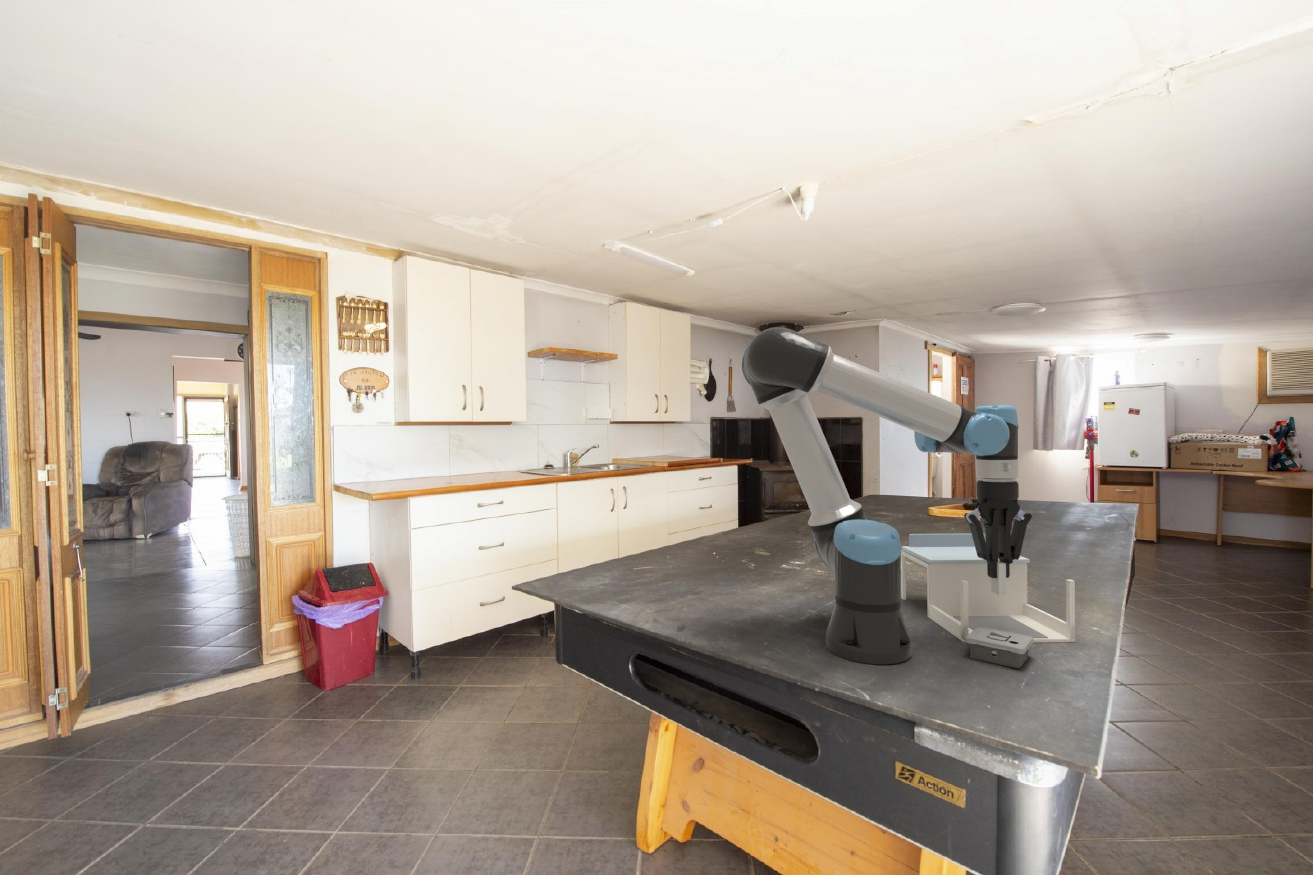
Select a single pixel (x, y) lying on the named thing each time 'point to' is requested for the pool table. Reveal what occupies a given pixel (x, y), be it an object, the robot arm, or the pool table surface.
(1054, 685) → the pool table surface
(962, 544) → the lid
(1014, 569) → the housing
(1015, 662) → the gray toolbox
